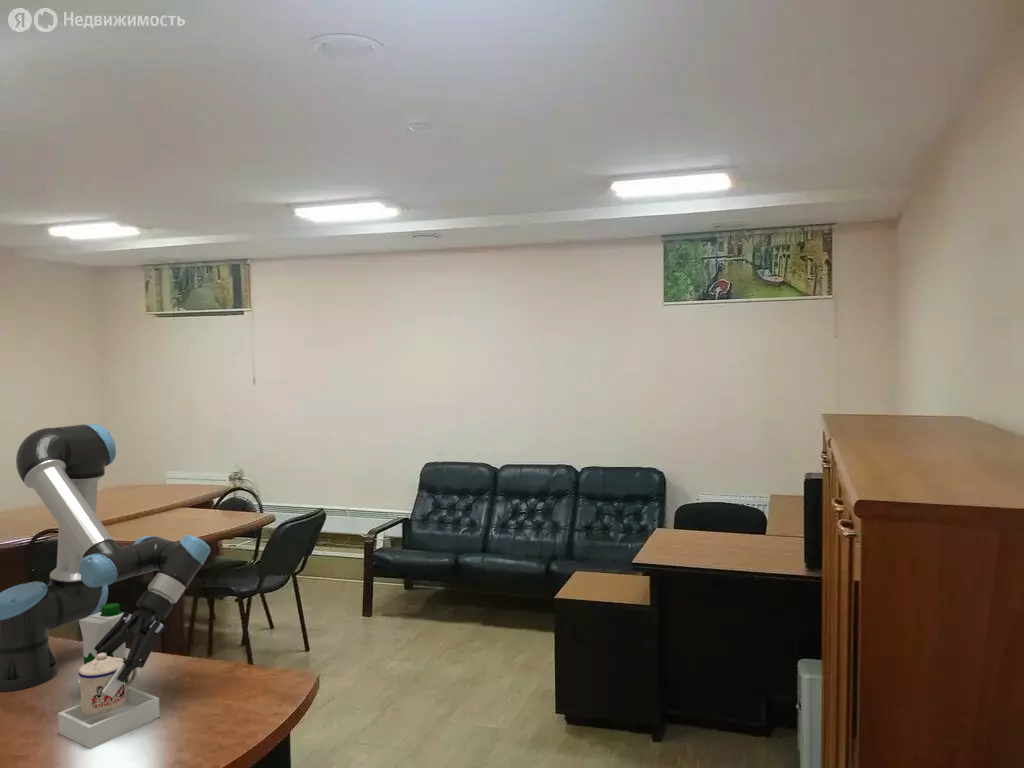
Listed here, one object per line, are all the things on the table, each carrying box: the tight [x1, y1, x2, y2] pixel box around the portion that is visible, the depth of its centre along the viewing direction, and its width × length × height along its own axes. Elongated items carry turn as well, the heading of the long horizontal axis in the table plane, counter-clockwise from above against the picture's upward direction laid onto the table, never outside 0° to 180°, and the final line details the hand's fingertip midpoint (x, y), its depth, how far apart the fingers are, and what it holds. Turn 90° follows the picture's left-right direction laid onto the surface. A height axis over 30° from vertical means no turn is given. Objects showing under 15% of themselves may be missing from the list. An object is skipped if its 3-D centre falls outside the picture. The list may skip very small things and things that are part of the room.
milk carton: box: [78, 602, 129, 684], centre depth 183 cm, size 9×9×20 cm
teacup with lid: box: [78, 653, 138, 715], centre depth 164 cm, size 12×9×12 cm
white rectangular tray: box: [57, 685, 161, 750], centre depth 164 cm, size 13×16×4 cm
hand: (95, 689), depth 161 cm, fingers closed on teacup with lid, 9 cm apart
